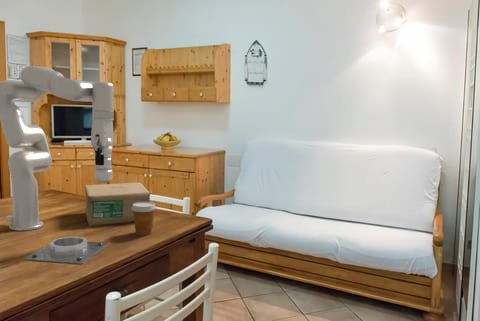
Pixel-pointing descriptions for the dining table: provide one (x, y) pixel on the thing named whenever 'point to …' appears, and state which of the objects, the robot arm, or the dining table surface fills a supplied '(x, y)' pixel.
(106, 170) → the plastic bottle
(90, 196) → the paper package
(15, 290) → the dining table surface
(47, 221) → the dining table surface
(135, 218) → the disposable coffee cup
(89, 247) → the duct flange
